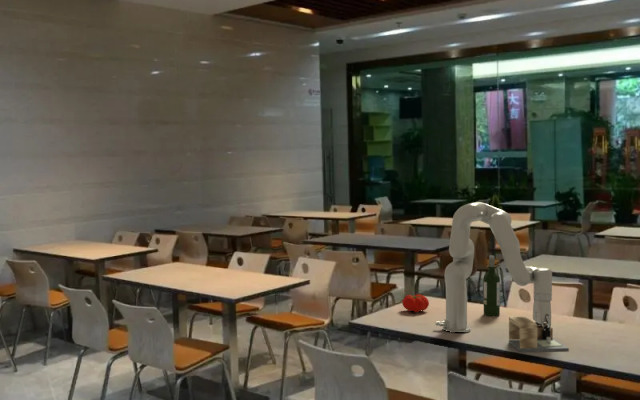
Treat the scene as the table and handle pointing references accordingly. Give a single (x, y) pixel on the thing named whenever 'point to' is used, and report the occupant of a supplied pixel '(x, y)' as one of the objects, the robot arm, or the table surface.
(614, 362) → the table surface
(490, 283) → the wine bottle
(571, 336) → the table surface
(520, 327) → the tan wooden block
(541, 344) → the board
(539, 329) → the brown wooden cube
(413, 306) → the tomato
